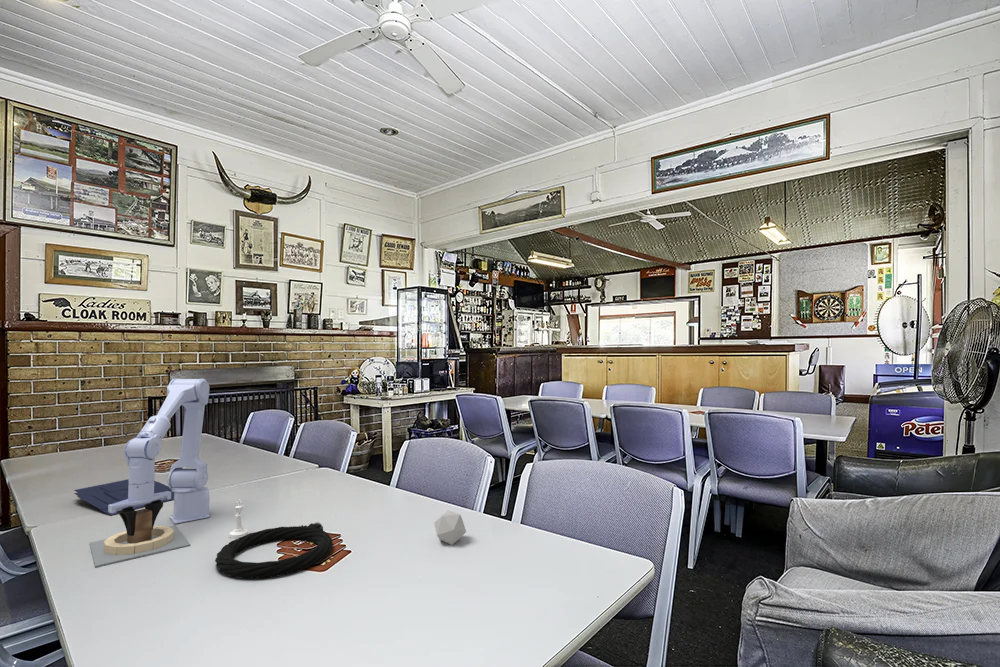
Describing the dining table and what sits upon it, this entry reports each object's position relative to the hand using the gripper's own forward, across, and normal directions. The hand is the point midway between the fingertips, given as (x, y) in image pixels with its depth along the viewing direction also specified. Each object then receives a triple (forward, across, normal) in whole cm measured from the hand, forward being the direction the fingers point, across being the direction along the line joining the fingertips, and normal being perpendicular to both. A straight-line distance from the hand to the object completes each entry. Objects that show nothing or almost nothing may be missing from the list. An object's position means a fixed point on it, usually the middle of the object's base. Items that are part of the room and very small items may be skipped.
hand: (140, 532), depth 134 cm
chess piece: (+4, -18, +17) cm, 24 cm away
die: (+4, -43, +73) cm, 84 cm away
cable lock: (+4, -14, +39) cm, 41 cm away
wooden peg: (+2, 0, 0) cm, 3 cm away
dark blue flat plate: (+4, -20, -49) cm, 53 cm away
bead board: (+3, 0, 0) cm, 3 cm away
